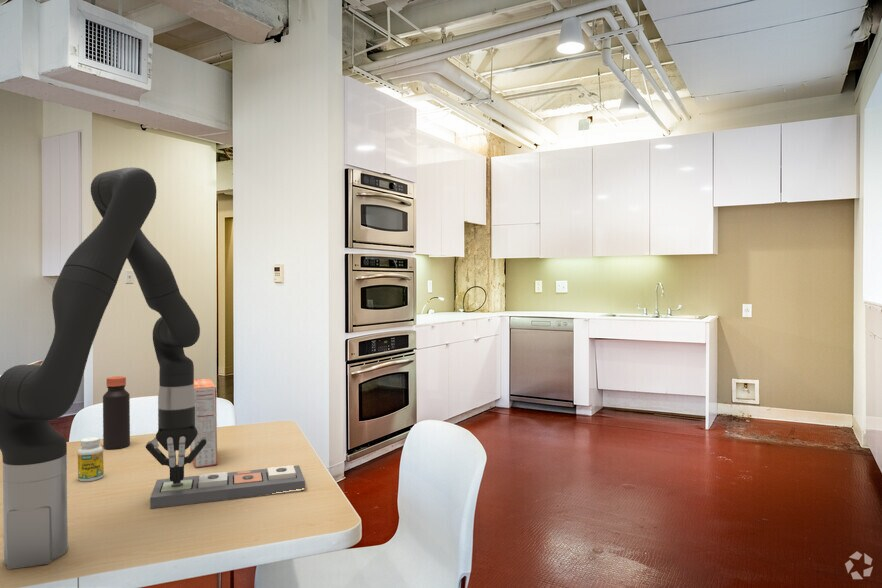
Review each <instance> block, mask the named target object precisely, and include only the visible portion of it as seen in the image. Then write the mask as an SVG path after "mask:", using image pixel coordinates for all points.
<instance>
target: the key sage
mask: <svg viewBox="0 0 882 588" xmlns="http://www.w3.org/2000/svg"><path fill="white" fill-rule="evenodd" d="M192 488H193V480H183V481H181V482H180V483H176V484H173V482H164V484H163V487H162V490H161V492H170V491H179V490H188V489H192Z"/></svg>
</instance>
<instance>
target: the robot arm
mask: <svg viewBox="0 0 882 588" xmlns="http://www.w3.org/2000/svg"><path fill="white" fill-rule="evenodd" d="M90 195H91V200H92V201H93V203H94V206H95V207H96V209H97V212H99V214H100V216H101V217H102V219H101V221H100V223H99V224H98V225H97V226H96V227H95V228H94V230H92V232H91V233H90V234H89V235H87V237H86V238H85V239H84V240H83V241H81V243H80V244H78V246H77V247H76V248H75V249H74V251H72V253H71V254H70V255H69V256H68V258H67V259H66V261H65V263H64V265H63V266H62V269H61V271H60V273H59V275H58V278H57V280H56V283H55V285H54V286H53V290H52V297H51V303H52V312H53V313H52V314H53V320H54V334H53V335H54V336H53V338H52V342H51V343H50V346H49V348H48V351H47V353H46V355H45V358H44V360H43V362H42V363H41V364H19V365H18V364H17V365H15V366H12V367H10V368H8V369H6V370H5V371H4V372H3V373H2V374H1V376H0V451H1V456H2V513H3V514H2V518H3V519H2V520H3V521H2V523H3V524H2V528H3V530H2V531H3V532H2V534H3V564H4V565H6V569H7V570H14V569H18V568H25V567H26V568H28V567H33V566H34V567H35V566H40V565H41V566H42V565H47V564H50V563H51V562H52V561H53V560H56V559H57V558H59V557H61V556H63V555H64V554H66V552H67V551H68V548H69V547H68V546H69V544H68V543H69V542H68V540H69V539H68V537H69V535H68V534H69V533H68V529H69V527H68V525H69V524H68V452H67V451H68V450H67V449H68V445H67V443H68V442H67V439H66V438H65V436H64V435H63V434H61V433H59V432H58V431H57V430H55V428H54V427H53V426H52V425H51V423H50V421H53V420H57V419H59V418H61V417H62V416H64V415H65V414H66V413H67V412H68V411H69V410H70V409H71V407H72V406H73V404H74V402H75V400H76V398H77V397H78V396H77V395H78V393H79V390H80V387H81V383H82V380H83V376H84V373H85V369H86V366H87V362H88V358H89V356H90V351H91V349H92V346H93V343H94V340H95V338H96V336H97V332H98V330H99V327H100V325H101V321H102V320H103V316H104V313H105V312H106V309H107V308H108V305H109V304H110V300H111V299H112V297H113V294H114V291H115V289H116V286H117V284H118V281H119V279H120V275H121V272H122V270H123V267H124V265H125V263H126V260H127V261H128V263H129V266H130V267H131V269H132V270H133V274H134V275H135V277H136V280H137V282H138V286H139V288H140V290H141V292H142V296H143V297H144V300H145V302H146V305H147V306H148V308H149V309H151V310H152V311H155V312H157V313H158V314H159V316H160V317H159V318H158V319H157V320H156V321H155V323H154V325H153V329H152V342H153V343H152V344H153V347H154V352H155V356H156V360H157V363H158V366H159V369H158V371H159V373H158V375H159V379H158V380H159V381H158V382H159V385H158V387H159V388H158V393H157V401H158V402H157V409H158V410H157V418H158V419H157V420H158V423H157V425H158V427H157V431H156V434H155V437H154V438H153V439H152V440H151V441H150V440H149V441H148V442H147V443H146V445H145V449H146V450H147V451H148V452H149V454H151V456H152V457H153V458H154V459H155V460H156V461H157V462H158V463H159V464H160V465H162V466H167V467H168V468H169V478H170V481H173V484H176V483H180V482H181V480H183V478H184V477H185V465H186V464H191V463H193V460H194V458H195V457H196V456H197V455H198V453H199V452H200V451H201V450H202V448H203V447H204V446H205V444H206V442H207V438H206V437H202V436H200V435H199V434H198V431H197V429H196V427H195V402H196V399H195V390H194V379H195V375H194V374H195V368H194V366H195V365H194V362H193V360H192V359H191V358H189V357H188V356H187V355H186V354H185V350H184V348H189V347H192V346H194V345H195V344H196V343H197V342H198V340H199V339H200V336H201V327H200V323H199V319H198V318H197V316H196V314H195V312H194V311H193V309H192V308H191V307H190V305H189V304H188V302H187V301H186V299H185V298H184V296H183V295H182V294H181V291H180V288H179V285H178V282H177V281H176V278H175V275H174V272H173V270H172V267H171V265H170V263H168V261H167V260H166V258H165V257H164V256H163V255H162V254H161V252H160V251H159V250H158V249H157V247H155V246H154V245H153V244H152V242H151V241H150V240H149V239H148V237H146V235H145V233H144V232H143V231H142V229H141V228H142V227H143V225H144V223H145V221H146V220H147V218H148V216H149V214H150V213H151V211H152V209H153V207H154V205H155V202H156V199H157V184H156V182H155V179H154V177H153V176H152V174H151V173H150V172H148V171H147V170H145V169H144V168H141V167H123V168H119V169H113V170H109V171H104V172H101V173H98V174H97V175H96V176H95V177H94V178H93V179H92V181H91V184H90ZM194 439H196V441H195V445H196V446H195V448H194V449H193V450H192V451H191V453H190V452H189V453H188V455H186V450H187V449H189V448H190V445H191V443H192V442H193V441H194ZM159 446H162V448H163V449H164V450H165V451H166V452H167V453H168V457H167V455H165V454H164V452H162V451H161V450H160V449H159ZM176 451H177V452H178V455H177V453H176ZM177 456H178V457H177Z"/></svg>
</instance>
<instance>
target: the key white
mask: <svg viewBox="0 0 882 588" xmlns="http://www.w3.org/2000/svg"><path fill="white" fill-rule="evenodd" d="M227 473H228V471H223V472H212V473H204V474H202V473H201V474H199V475H198V476H199V482H198V488H207V487H216V486H225V485H227Z"/></svg>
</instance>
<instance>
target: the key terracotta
mask: <svg viewBox="0 0 882 588" xmlns="http://www.w3.org/2000/svg"><path fill="white" fill-rule="evenodd" d="M253 482H262V476H261V472H260V473H251V474H241V475H234V485H235V484H244V483H253Z"/></svg>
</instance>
